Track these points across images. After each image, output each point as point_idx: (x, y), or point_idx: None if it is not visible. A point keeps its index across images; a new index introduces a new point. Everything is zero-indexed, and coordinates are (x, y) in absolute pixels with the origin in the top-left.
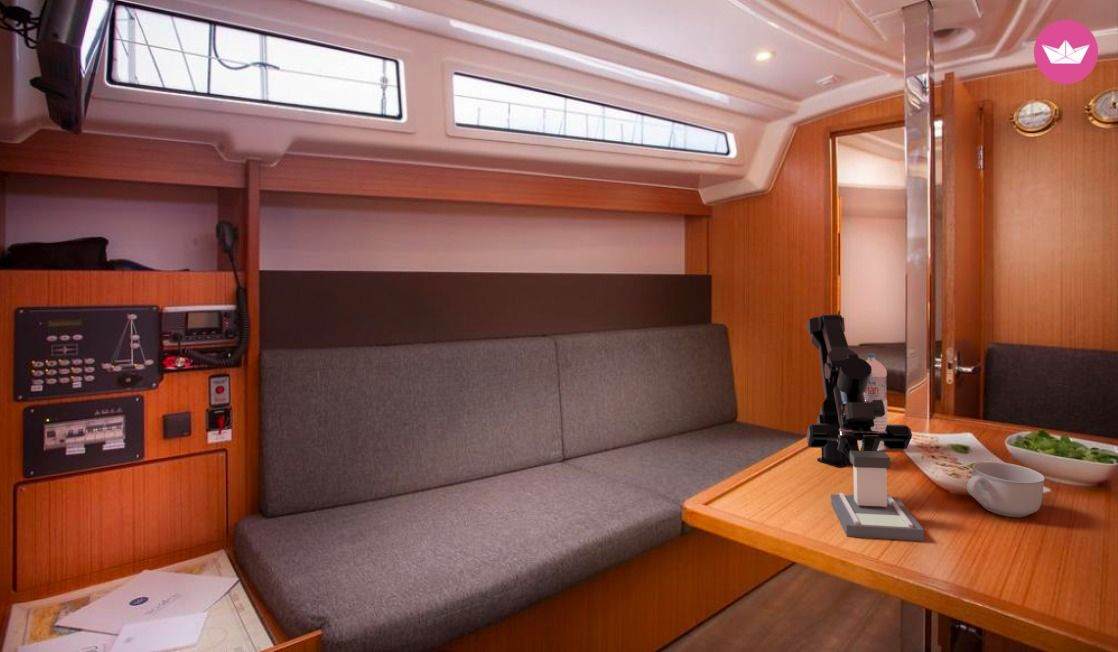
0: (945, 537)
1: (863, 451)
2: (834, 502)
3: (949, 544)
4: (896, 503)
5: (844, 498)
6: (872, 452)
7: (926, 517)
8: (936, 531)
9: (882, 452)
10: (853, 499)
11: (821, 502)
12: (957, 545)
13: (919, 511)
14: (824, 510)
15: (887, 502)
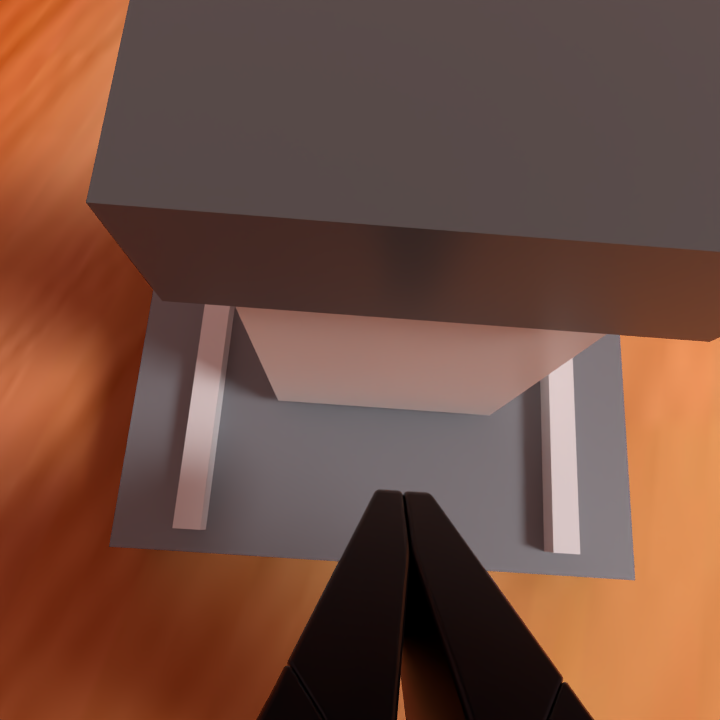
0: (80, 112)
1: (567, 201)
2: (620, 421)
3: (106, 43)
4: (178, 406)
5: (561, 417)
6: (385, 128)
7: (31, 373)
8: (86, 178)
9: (159, 131)
10: (476, 470)
11: (661, 606)
12: (74, 35)
13: (21, 477)
14: (653, 445)
15: (237, 423)
